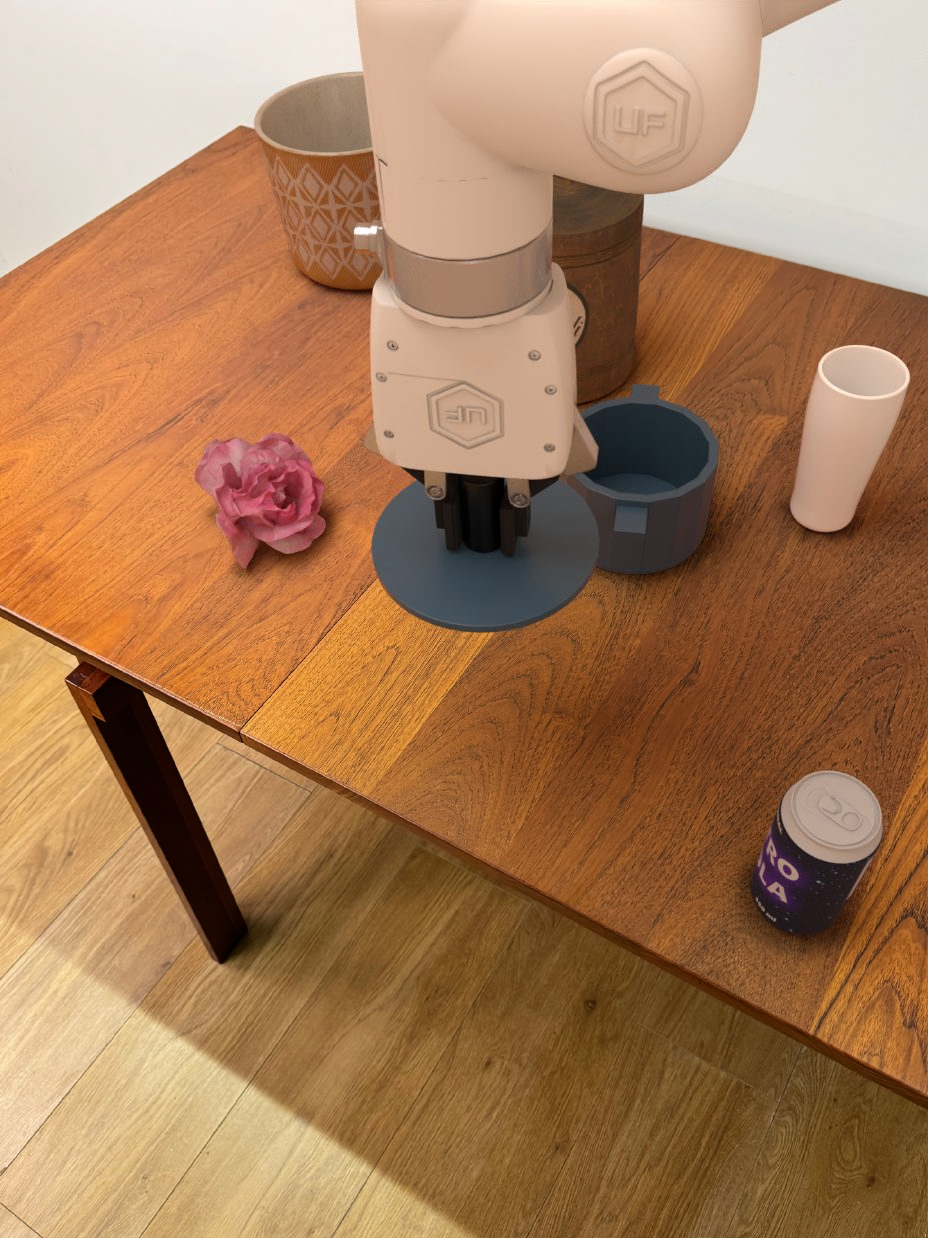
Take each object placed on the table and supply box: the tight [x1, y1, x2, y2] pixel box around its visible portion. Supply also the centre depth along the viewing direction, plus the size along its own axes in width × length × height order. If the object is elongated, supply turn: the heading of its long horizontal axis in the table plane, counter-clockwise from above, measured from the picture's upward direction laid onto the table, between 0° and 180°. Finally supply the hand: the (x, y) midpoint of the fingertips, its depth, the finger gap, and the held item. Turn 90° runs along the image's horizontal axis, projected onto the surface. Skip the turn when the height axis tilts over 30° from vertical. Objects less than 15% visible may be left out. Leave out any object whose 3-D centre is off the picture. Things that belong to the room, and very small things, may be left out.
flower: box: [194, 432, 327, 569], centre depth 86 cm, size 11×10×10 cm
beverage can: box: [750, 770, 884, 936], centre depth 60 cm, size 6×6×12 cm
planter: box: [253, 71, 383, 291], centre depth 111 cm, size 19×19×16 cm
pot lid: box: [370, 474, 599, 634], centre depth 58 cm, size 14×14×7 cm
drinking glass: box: [789, 344, 911, 533], centre depth 80 cm, size 7×7×15 cm
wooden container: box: [552, 175, 645, 405], centre depth 93 cm, size 15×15×22 cm
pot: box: [559, 383, 720, 576], centre depth 84 cm, size 13×18×8 cm
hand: (484, 534), depth 59 cm, fingers closed on pot lid, 2 cm apart
